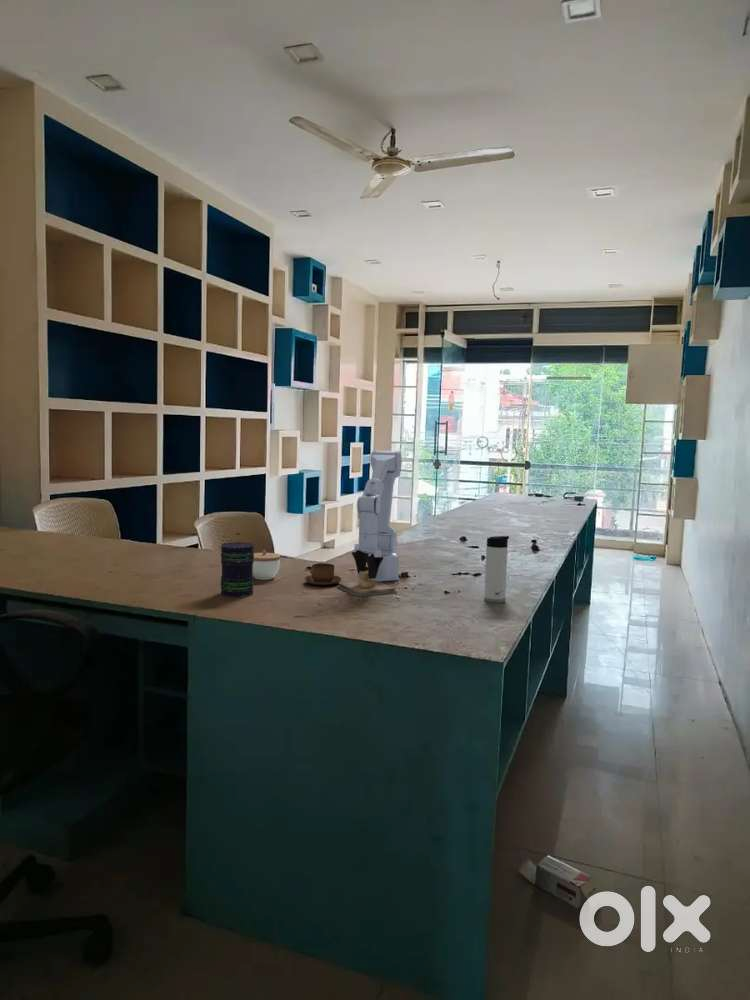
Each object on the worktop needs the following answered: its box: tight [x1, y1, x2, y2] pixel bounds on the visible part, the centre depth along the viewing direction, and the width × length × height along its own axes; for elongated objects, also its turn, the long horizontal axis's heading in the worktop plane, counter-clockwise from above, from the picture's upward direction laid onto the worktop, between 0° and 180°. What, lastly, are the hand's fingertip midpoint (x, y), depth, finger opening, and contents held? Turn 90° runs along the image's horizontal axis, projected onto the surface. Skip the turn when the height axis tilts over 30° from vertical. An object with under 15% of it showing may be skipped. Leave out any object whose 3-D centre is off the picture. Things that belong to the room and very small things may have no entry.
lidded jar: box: [253, 549, 281, 581], centre depth 231 cm, size 11×11×9 cm
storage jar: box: [220, 532, 255, 598], centre depth 207 cm, size 10×10×18 cm
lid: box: [339, 570, 396, 594], centre depth 217 cm, size 13×13×5 cm
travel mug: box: [483, 535, 510, 604], centre depth 207 cm, size 6×7×20 cm
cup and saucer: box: [304, 562, 342, 586], centre depth 225 cm, size 12×12×6 cm
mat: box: [336, 585, 398, 598], centre depth 217 cm, size 14×14×1 cm
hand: (366, 576), depth 217 cm, fingers open, 7 cm apart
